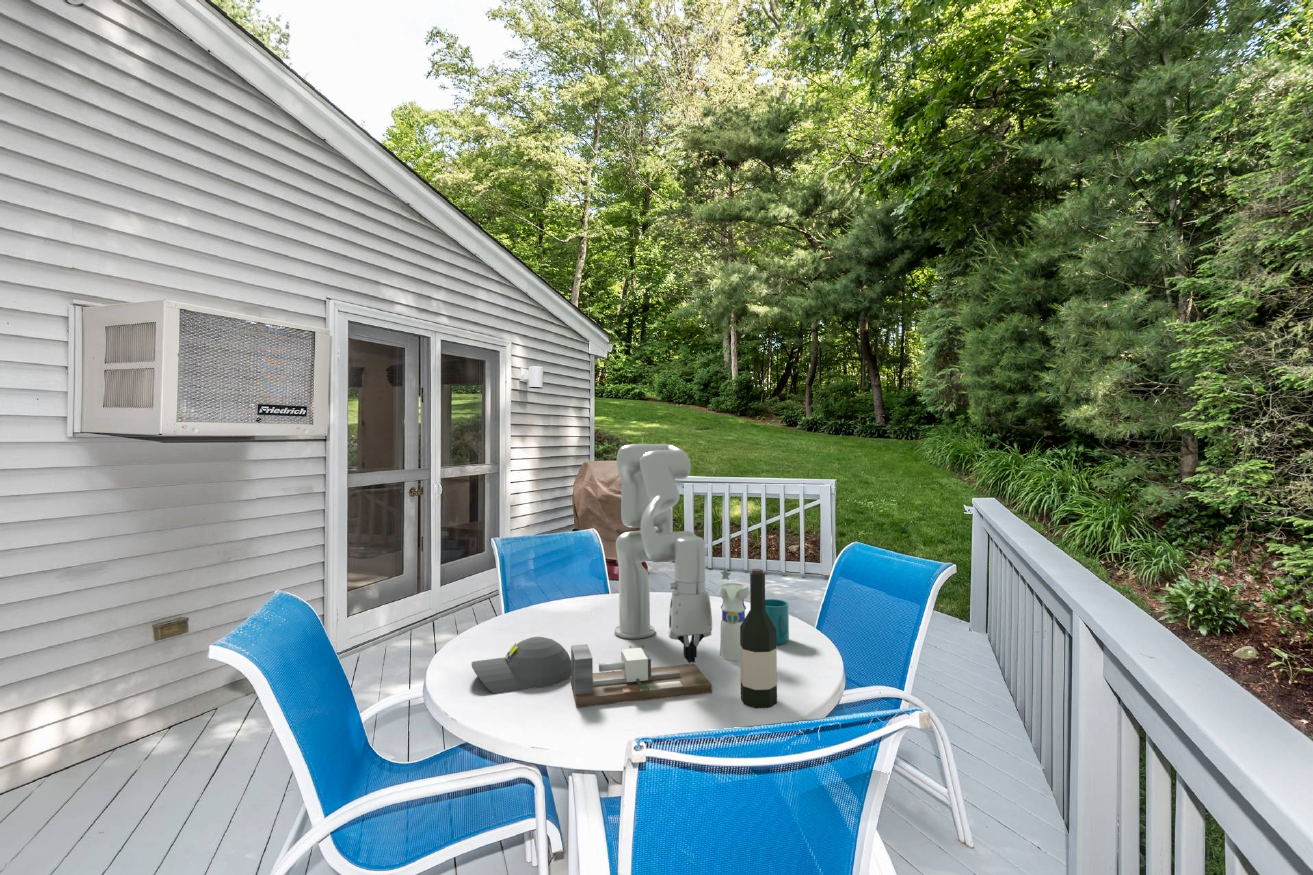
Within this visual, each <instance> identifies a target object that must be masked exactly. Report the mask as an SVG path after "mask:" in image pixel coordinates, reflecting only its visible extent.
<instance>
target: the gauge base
mask: <svg viewBox="0 0 1313 875" xmlns="http://www.w3.org/2000/svg"><path fill="white" fill-rule="evenodd" d="M570 652H571V653H570V654H571V655H570V659H571V677H570V686H571V690H572V695H573V699H574V704H575V708H583V707H584V708H585V707H590V706H591V707H592V706H593V707H594V706H601V705H609V704H619V703H620V704H621V703H630V702H637V701H638V702H640V701H647V700H658V699H667V697H668V698H676V697H685V696H693V695H703V694H704V695H705V694H713V693H712V692H713V690H712V689H713V688H712V687H713V686H712V682H710V680H709V679H708V678H707V676H705V674H704V673H703V672H702V670H700V668H699V667H698V665H696V662H694V663H687V664H686V663H685V664H675V665H674V664H673V665H665V666H655V667H652V666H651V676H648V680H644V681H640V682H641V685H638V684H637V682H636V681H634V682H627V681H626V679H625V677H624V674H623V672H622V670H613V671H603V672H593V669H594V668H593V667H594V665H593V663H594V661H593V656H592V653H591V650H590V646H589V645H588V643H587V644H586V643H585V644H571V645H570Z"/></svg>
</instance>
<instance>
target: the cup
mask: <svg viewBox="0 0 1313 875" xmlns="http://www.w3.org/2000/svg"><path fill="white" fill-rule="evenodd" d="M789 606H790V605H789V603H788V602H787V601H785V600H783V599H777V598H769V599H768V598H767V599H766V598H765V611H766V613H767V614H768V616H769V618H770V620H771V621H772V623H773V625H774V627H775V628H776V643H777V646H779V645H784V644H787V643H788V642H789V641H790V627H789V626H790V623H789V622H790V621H789V620H790V619H789V617H790V615H789V610H790V609H789Z"/></svg>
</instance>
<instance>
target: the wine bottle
mask: <svg viewBox="0 0 1313 875" xmlns="http://www.w3.org/2000/svg"><path fill="white" fill-rule="evenodd" d="M749 581H750V583H749V592H750V594H749V596H750V598H749V600H750V601H749V602H750V604H749V605H750V609H749V611H748V612H747V615H745V619H744V621H743V622H742V624H741V626H740V660H739V662H740V663H739V664H740V665H739V666H740V700H741V702H742V705H744V706H747V707H750V708H753V709H771V708H773V707H774V706H775V705H777V704H778V673H777V672H778V670H777V668H778V665H777V664H778V663H777V662H778V661H777V660H778V658H777V657H778V656H777V654H778V653H777V650H778V648H777V646H778V645H777V643H776V628H775V627H774V625H773V623H772V621H771V620H770V618H769V616H768V614H767V613H766V611H765V599H766V575H765V573H764V570H763V569H761V568H753V569H751V572H750V573H749Z"/></svg>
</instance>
